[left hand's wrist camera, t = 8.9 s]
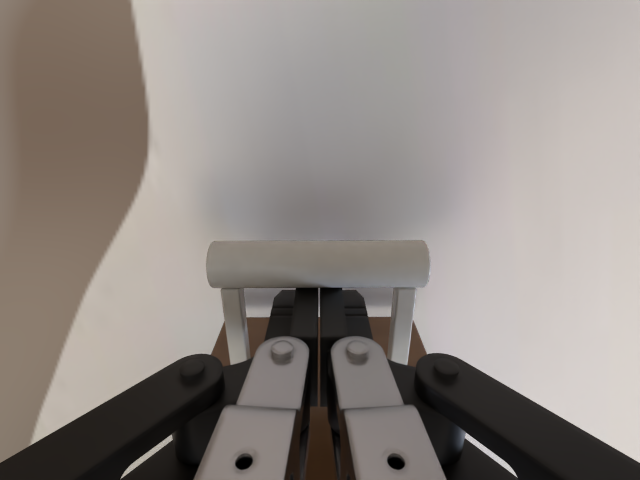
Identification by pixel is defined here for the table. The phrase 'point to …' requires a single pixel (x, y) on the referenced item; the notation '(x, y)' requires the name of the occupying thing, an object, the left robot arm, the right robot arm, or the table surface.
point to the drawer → (318, 272)
